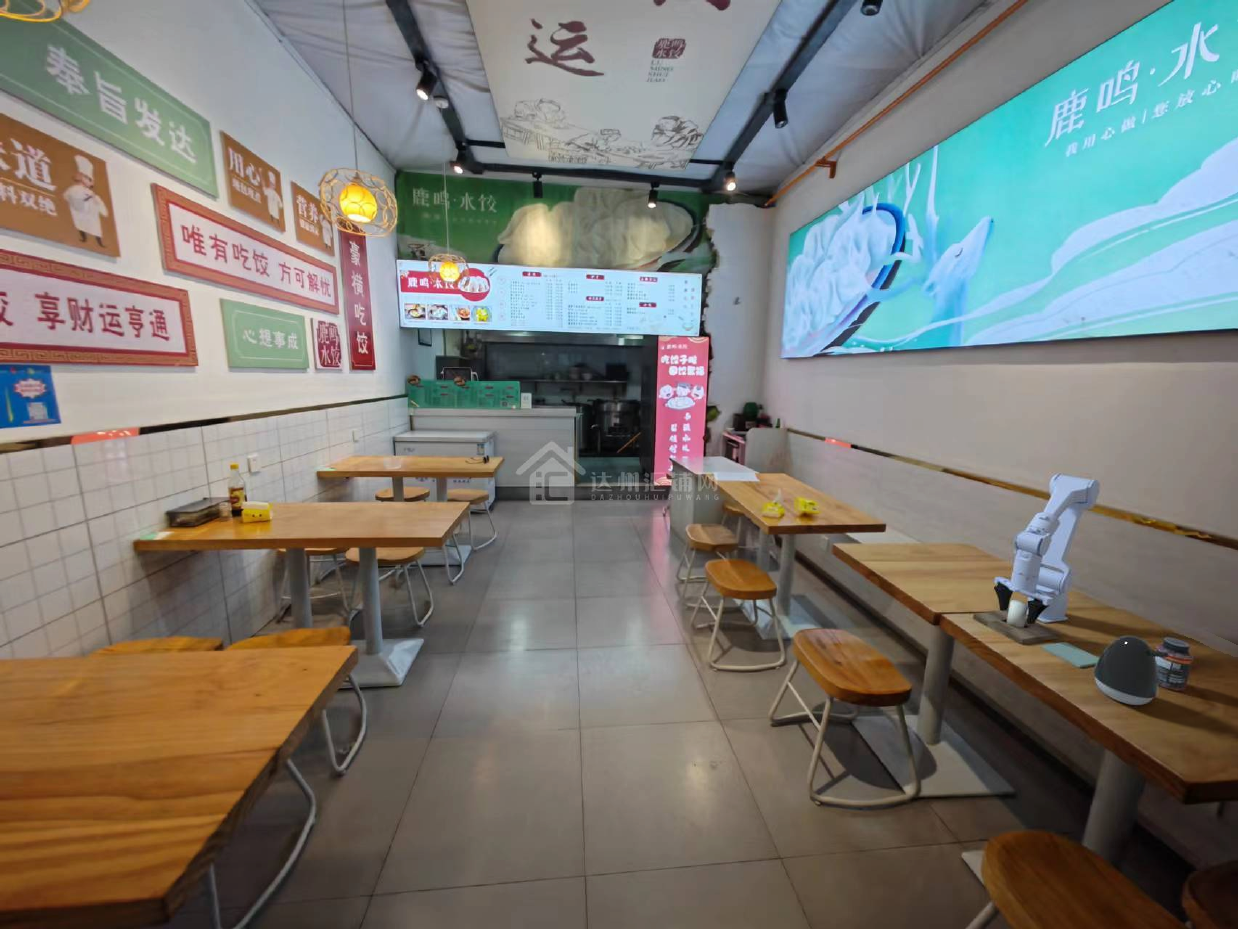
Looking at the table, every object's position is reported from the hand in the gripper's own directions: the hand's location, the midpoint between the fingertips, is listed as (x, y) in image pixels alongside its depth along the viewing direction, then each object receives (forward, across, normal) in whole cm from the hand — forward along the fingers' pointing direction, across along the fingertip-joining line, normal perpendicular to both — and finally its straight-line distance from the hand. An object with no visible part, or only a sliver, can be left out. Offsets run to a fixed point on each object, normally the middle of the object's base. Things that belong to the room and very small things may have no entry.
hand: (1016, 616), depth 138 cm
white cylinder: (+4, 0, 0) cm, 4 cm away
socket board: (+4, 0, 0) cm, 4 cm away
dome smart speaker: (+4, +29, -7) cm, 30 cm away
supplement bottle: (+4, +28, +10) cm, 30 cm away
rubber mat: (+4, +14, +1) cm, 15 cm away
